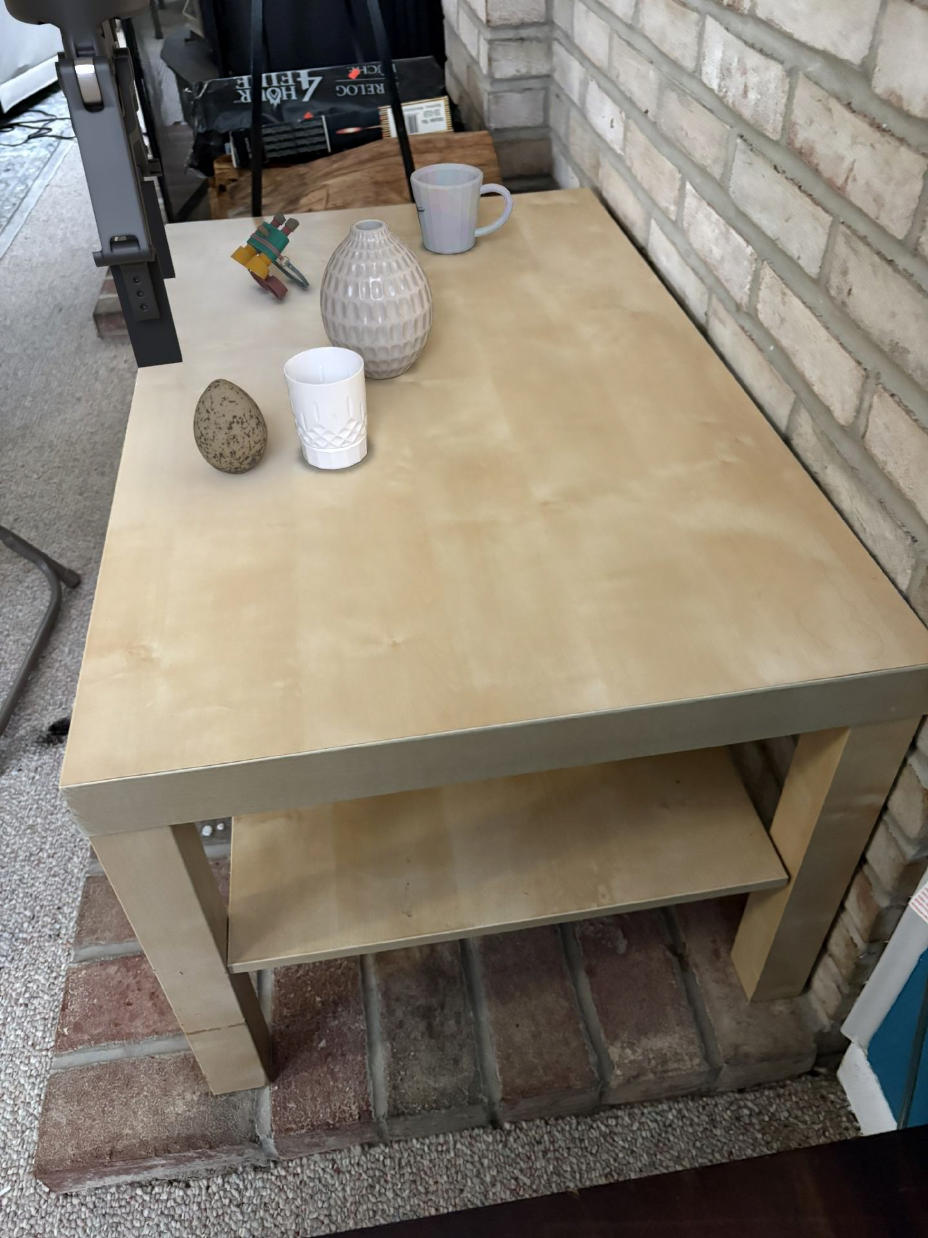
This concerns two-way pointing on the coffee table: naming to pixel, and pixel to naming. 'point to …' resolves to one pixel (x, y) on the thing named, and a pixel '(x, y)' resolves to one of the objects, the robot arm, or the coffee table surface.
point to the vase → (377, 300)
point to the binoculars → (270, 254)
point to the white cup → (329, 405)
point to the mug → (453, 206)
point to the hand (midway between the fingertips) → (158, 317)
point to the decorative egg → (229, 428)
